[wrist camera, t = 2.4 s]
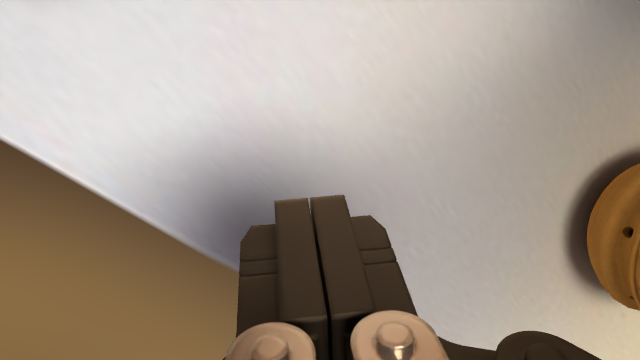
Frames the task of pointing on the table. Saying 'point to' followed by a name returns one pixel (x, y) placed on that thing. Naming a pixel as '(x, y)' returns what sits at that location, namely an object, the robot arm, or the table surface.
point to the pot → (618, 238)
